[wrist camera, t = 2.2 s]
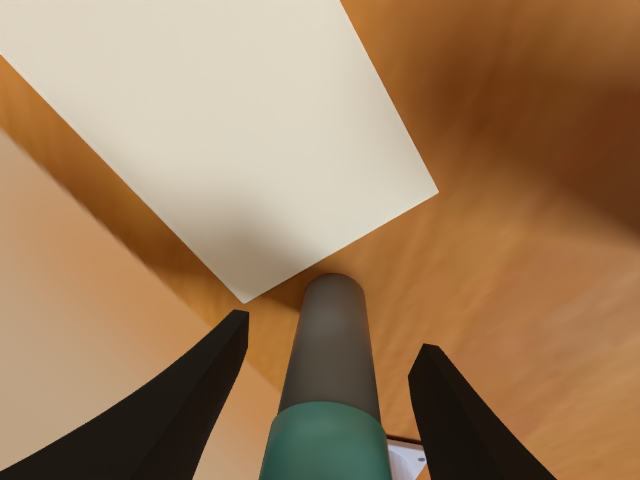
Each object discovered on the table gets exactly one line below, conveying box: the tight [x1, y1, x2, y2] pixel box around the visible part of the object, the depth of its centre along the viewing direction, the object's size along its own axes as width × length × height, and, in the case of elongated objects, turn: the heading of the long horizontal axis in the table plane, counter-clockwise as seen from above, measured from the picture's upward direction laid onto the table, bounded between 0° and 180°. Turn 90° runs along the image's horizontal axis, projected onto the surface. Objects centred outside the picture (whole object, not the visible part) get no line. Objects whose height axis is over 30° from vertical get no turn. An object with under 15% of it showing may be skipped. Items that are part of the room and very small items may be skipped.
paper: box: [0, 0, 439, 304], centre depth 10 cm, size 15×11×1 cm
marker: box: [259, 274, 393, 480], centre depth 9 cm, size 3×3×8 cm
